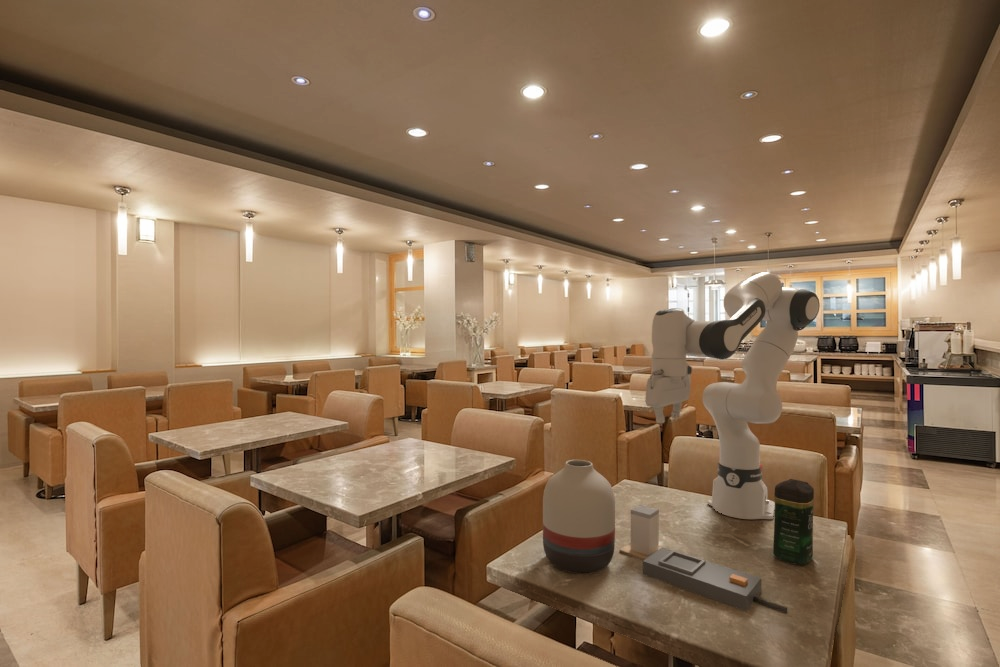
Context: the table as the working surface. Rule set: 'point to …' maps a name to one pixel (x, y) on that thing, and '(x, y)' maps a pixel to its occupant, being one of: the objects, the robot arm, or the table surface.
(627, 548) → the coaster
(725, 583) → the power strip
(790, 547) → the coffee jar
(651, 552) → the block
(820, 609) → the table surface
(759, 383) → the robot arm
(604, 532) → the vase
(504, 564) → the table surface
